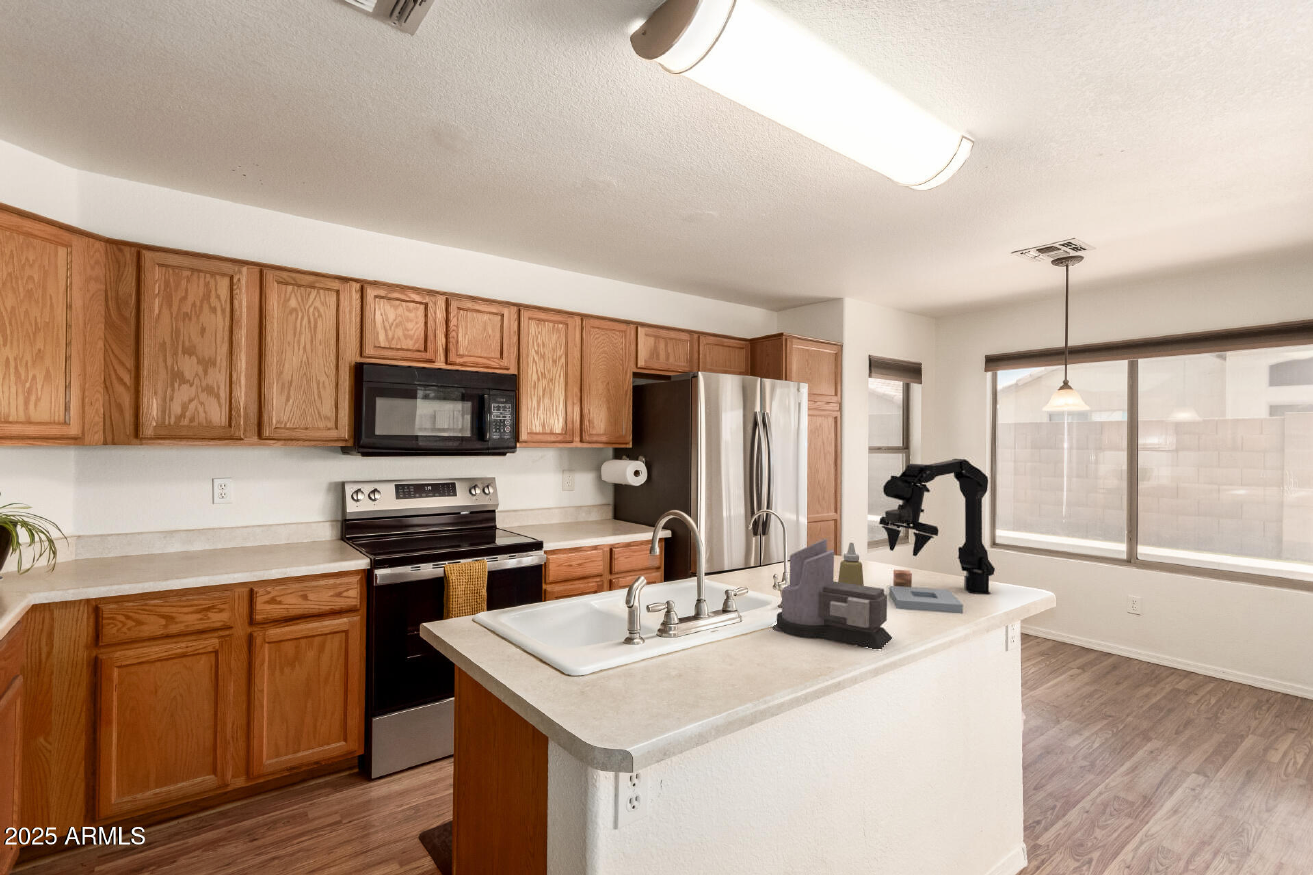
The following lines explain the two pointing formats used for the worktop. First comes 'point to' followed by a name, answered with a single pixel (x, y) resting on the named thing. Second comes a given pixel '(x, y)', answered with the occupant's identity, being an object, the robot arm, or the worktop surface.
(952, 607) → the socket board
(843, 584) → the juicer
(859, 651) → the worktop surface
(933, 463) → the robot arm
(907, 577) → the brown block
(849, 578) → the squeeze bottle
